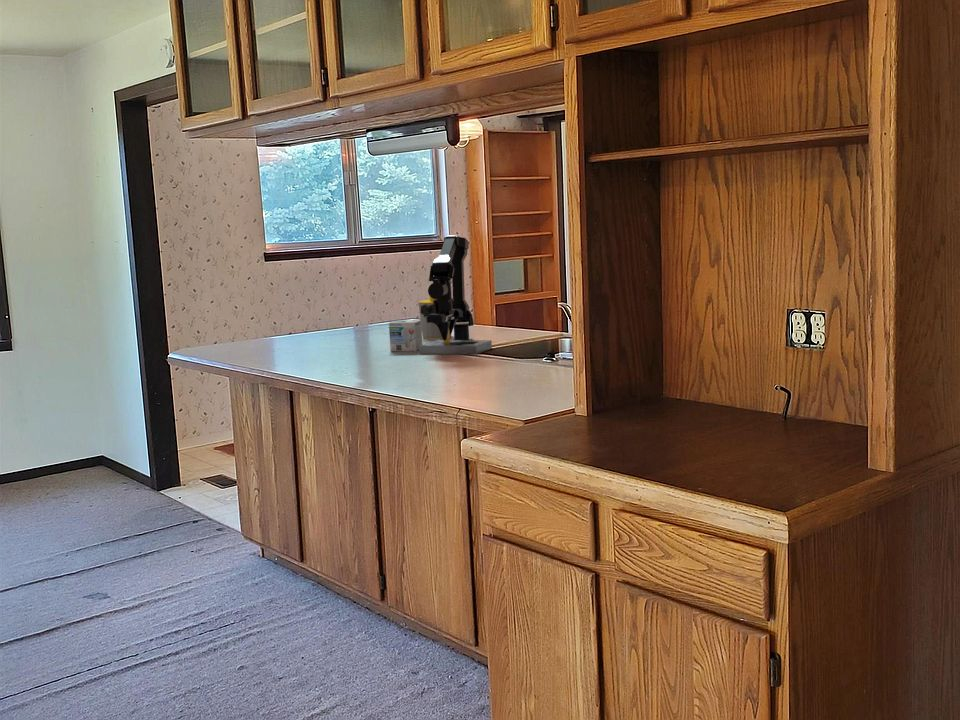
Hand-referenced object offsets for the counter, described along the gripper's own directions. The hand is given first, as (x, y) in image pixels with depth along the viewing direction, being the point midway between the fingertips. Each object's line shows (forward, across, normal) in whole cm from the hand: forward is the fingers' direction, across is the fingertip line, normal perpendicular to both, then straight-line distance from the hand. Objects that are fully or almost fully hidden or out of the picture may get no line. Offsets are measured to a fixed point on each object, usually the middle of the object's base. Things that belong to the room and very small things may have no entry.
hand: (446, 339), depth 341 cm
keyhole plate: (+4, 0, +4) cm, 6 cm away
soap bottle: (+4, -36, -21) cm, 42 cm away
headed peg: (+4, 0, 0) cm, 4 cm away
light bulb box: (+4, -2, -17) cm, 18 cm away
